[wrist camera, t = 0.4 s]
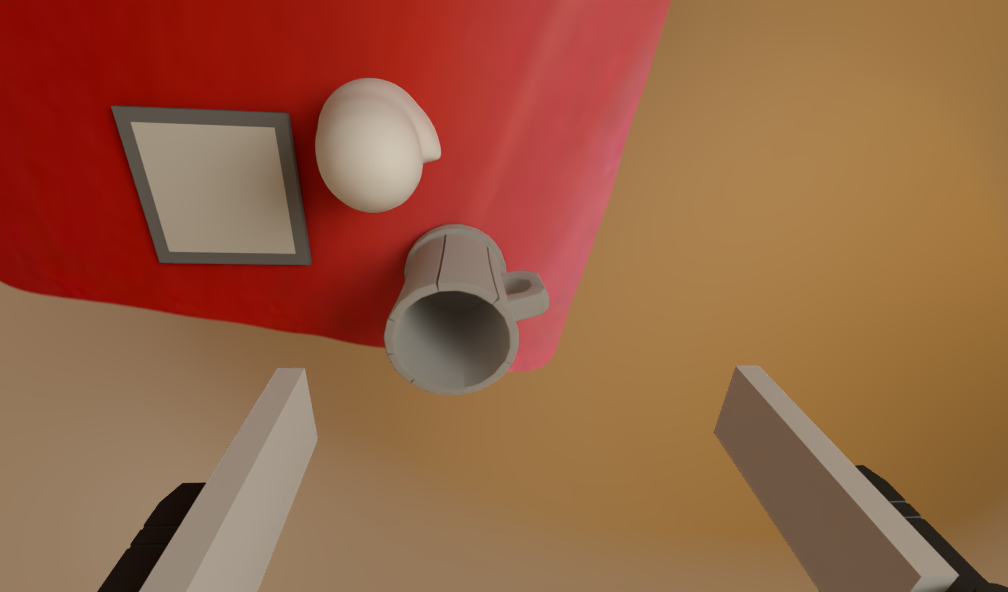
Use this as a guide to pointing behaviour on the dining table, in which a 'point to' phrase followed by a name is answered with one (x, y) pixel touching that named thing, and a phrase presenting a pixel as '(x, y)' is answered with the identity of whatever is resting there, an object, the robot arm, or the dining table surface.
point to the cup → (459, 312)
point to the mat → (217, 184)
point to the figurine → (373, 144)
